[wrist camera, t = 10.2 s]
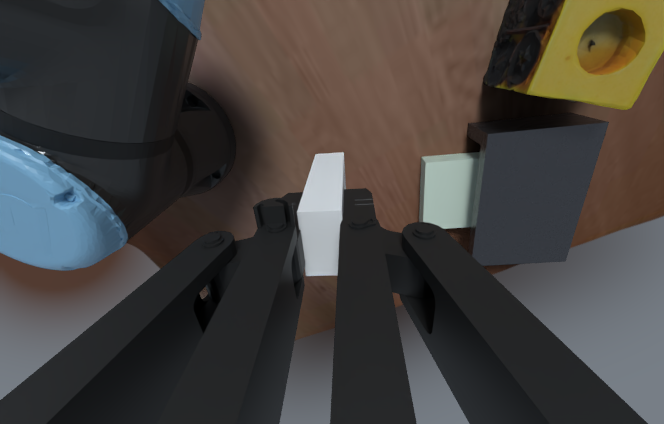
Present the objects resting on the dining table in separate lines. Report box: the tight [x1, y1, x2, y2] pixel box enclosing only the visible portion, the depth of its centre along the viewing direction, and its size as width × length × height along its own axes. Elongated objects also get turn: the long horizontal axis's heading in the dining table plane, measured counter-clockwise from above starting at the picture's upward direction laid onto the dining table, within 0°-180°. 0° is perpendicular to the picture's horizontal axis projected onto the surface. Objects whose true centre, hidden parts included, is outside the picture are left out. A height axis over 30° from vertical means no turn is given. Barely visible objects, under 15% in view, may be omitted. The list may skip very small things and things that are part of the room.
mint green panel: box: [419, 152, 480, 229], centre depth 40 cm, size 14×10×3 cm
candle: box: [484, 0, 664, 110], centre depth 28 cm, size 10×10×10 cm
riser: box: [467, 113, 609, 266], centre depth 38 cm, size 12×18×6 cm, turn 7°
